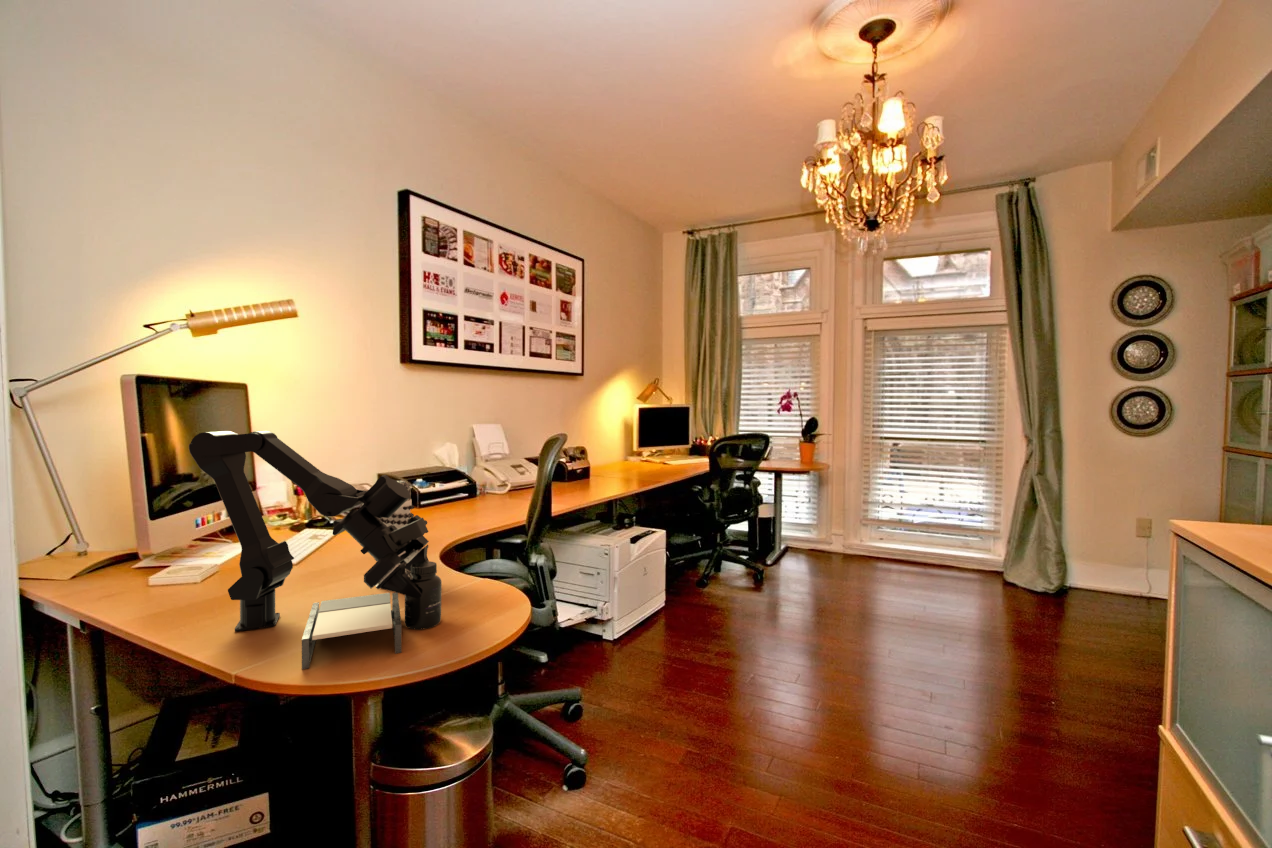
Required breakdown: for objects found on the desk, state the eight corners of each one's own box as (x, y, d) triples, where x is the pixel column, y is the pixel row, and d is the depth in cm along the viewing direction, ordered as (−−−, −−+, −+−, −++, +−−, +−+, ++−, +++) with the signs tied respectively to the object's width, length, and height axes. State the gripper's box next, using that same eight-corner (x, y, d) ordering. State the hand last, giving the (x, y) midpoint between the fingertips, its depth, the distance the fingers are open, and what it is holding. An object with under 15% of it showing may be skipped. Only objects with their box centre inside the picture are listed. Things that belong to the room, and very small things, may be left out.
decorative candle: (405, 575, 138) (405, 478, 137) (420, 583, 131) (420, 482, 131) (367, 582, 131) (367, 481, 131) (381, 592, 125) (381, 485, 124)
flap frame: (313, 628, 104) (313, 603, 104) (397, 616, 111) (397, 592, 110) (301, 669, 88) (301, 639, 88) (401, 652, 94) (401, 624, 94)
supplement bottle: (437, 629, 104) (437, 568, 104) (400, 631, 103) (400, 570, 103) (444, 616, 111) (444, 558, 111) (409, 617, 110) (409, 560, 110)
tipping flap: (321, 616, 104) (321, 601, 104) (389, 607, 109) (389, 592, 109) (312, 652, 88) (312, 634, 88) (392, 640, 94) (392, 623, 94)
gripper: (380, 514, 97) (442, 575, 98) (418, 497, 116) (470, 548, 116) (336, 558, 97) (398, 618, 98) (382, 533, 116) (433, 584, 116)
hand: (428, 588), depth 107 cm, fingers open, 9 cm apart
